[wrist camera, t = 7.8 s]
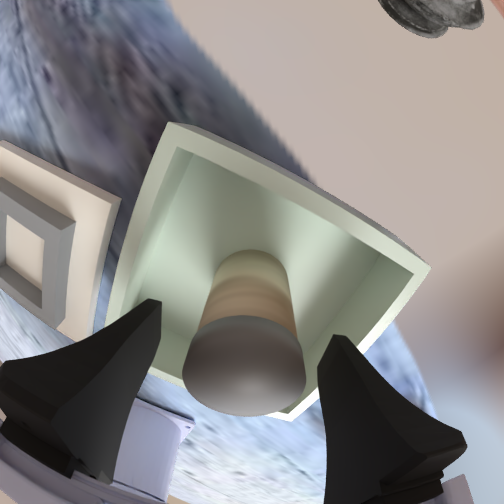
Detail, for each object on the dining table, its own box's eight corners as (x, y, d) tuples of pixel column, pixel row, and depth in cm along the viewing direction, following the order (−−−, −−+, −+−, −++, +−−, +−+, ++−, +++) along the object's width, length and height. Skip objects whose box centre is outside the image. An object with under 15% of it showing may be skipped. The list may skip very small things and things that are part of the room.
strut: (297, 305, 15) (314, 405, 9) (227, 321, 16) (210, 420, 10) (278, 238, 14) (291, 325, 7) (201, 259, 14) (160, 350, 8)
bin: (288, 377, 19) (291, 421, 15) (126, 310, 17) (100, 348, 13) (397, 236, 14) (431, 267, 10) (194, 125, 12) (168, 121, 9)
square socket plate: (91, 338, 18) (76, 360, 16) (-4, 270, 17) (-22, 283, 14) (121, 198, 14) (96, 212, 11) (4, 140, 12) (-22, 145, 10)
